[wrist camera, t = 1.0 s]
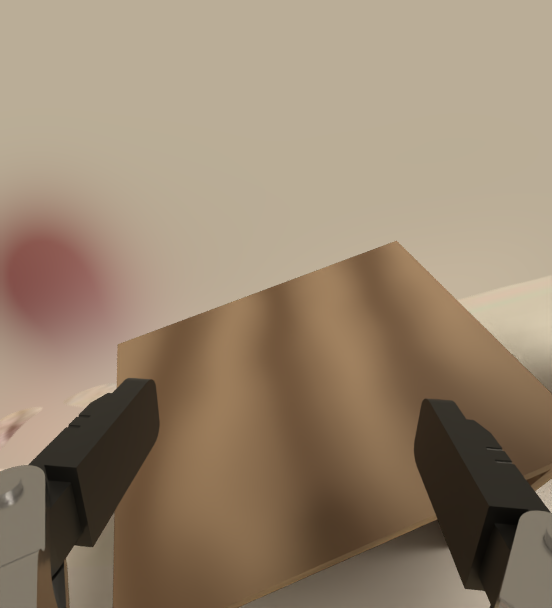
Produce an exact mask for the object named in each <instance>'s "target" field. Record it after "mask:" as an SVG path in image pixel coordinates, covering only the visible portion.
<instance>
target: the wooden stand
mask: <svg viewBox="0 0 552 608" xmlns="http://www.w3.org/2000/svg"><path fill="white" fill-rule="evenodd" d="M117 353H118V354H117V357H118V358H117V388H118V387H119V386H120V384H121V383H122V382H123V381H124V380H125V379H127V378H140V379H152V380H154V381H155V384H156V391H157V400H158V410H159V420H160V427H159V433H158V437H157V440H156V442H155V444H154V446H153V447H152V449H151V451H150V453H149V454H148V456H147V458H146V459H145V461H144V463H143V464H142V466H141V468H140V469H139V471H138V473H137V474H136V476H135V478H134V479H133V481H132V483H131V484H130V486H129V488H128V489H127V491H126V493H125V494H124V496H123V498H122V499H121V501H120V503H119V504H118V506H117V508H116V509H115V517H114V571H113V608H238V607H240V606H242V605H244V604H247V603H249V602H251V601H254V600H256V599H258V598H260V597H263V596H265V595H267V594H269V593H272V592H274V591H276V590H278V589H281V588H283V587H285V586H288V585H290V584H292V583H294V582H297V581H299V580H301V579H303V578H306V577H308V576H310V575H312V574H315V573H317V572H319V571H321V570H324V569H326V568H328V567H331V566H333V565H335V564H337V563H340V562H342V561H344V560H346V559H349V558H351V557H353V556H355V555H358V554H360V553H362V552H364V551H367V550H369V549H371V548H374V547H376V546H378V545H380V544H383V543H385V542H387V541H389V540H392V539H394V538H396V537H398V536H401V535H403V534H405V533H408V532H410V531H412V530H414V529H417V528H419V527H421V526H423V525H426V524H428V523H430V522H432V521H435V520H437V517H436V514H435V512H434V509H433V506H432V504H431V501H430V499H429V496H428V494H427V491H426V489H425V486H424V484H423V481H422V478H421V476H420V473H419V471H418V468H417V466H416V462H415V457H414V440H415V435H416V430H417V424H418V419H419V414H420V408H421V404H422V401H423V400H424V399H441V400H452V401H454V402H455V403H456V405H457V406H458V408H459V409H460V410H461V412H462V413H463V415H464V416H465V418H466V419H469V420H475V421H476V422H477V423H479V424H480V425H481V426H483V427H484V428H485V429H486V430H488V431H489V432H490V433H491V434H492V435H493V436H494V438H495V439H496V440H497V442H498V443H499V444H500V446H501V447H502V450H503V451H505V452H506V454H507V455H508V456H509V458H510V459H511V460H512V464H515V466H516V467H517V468H518V470H519V471H520V472H521V474H522V475H523V476H524V478H525V479H526V480H527V482H528V483H529V484H530V486H531V487H532V488H533V490H534V491H536V490H537V489H539V488H540V487H541V486H542V485H544V484H545V483H546V482H548V481H549V480H550V479H552V393H551V392H550V391H549V390H548V389H547V388H546V387H544V386H543V385H542V384H541V383H540V382H539V381H538V380H537V379H536V378H535V377H534V376H533V375H532V374H531V373H530V372H529V371H528V370H527V369H526V368H525V367H524V366H523V365H522V364H521V363H520V362H519V361H518V360H517V359H516V358H515V357H514V356H513V355H512V354H511V353H510V352H509V351H508V350H507V349H506V348H505V347H504V346H503V345H502V344H501V343H500V342H499V341H498V340H497V339H496V338H495V337H494V336H493V335H492V334H491V333H490V332H489V331H488V330H487V329H486V328H485V327H484V326H483V325H482V324H481V323H480V322H479V321H478V320H476V319H475V318H474V317H473V316H472V315H471V314H470V313H469V312H468V311H467V310H466V309H465V308H464V307H463V306H462V305H461V304H460V303H459V302H458V301H457V300H456V299H455V298H454V297H453V296H452V295H451V294H450V293H449V292H448V291H447V290H446V289H445V288H444V287H443V286H442V285H441V284H440V283H439V282H438V281H437V280H436V279H435V278H434V277H433V276H432V275H431V274H430V273H429V272H428V271H427V270H426V269H425V268H424V267H423V266H421V264H420V263H418V261H417V260H415V259H414V257H413V256H412V255H411V254H409V253H408V252H407V251H406V250H405V249H404V248H403V247H402V246H401V245H400V244H399V243H398V242H397V241H395V242H392V243H389V244H387V245H384V246H381V247H378V248H376V249H373V250H370V251H368V252H365V253H362V254H360V255H357V256H354V257H352V258H349V259H346V260H344V261H341V262H338V263H335V264H333V265H330V266H328V267H325V268H322V269H320V270H317V271H314V272H312V273H309V274H306V275H303V276H301V277H298V278H295V279H293V280H290V281H287V282H285V283H282V284H279V285H276V286H274V287H271V288H268V289H266V290H263V291H260V292H258V293H255V294H252V295H249V296H247V297H244V298H242V299H239V300H236V301H233V302H231V303H228V304H225V305H223V306H220V307H217V308H215V309H212V310H209V311H207V312H204V313H201V314H198V315H196V316H193V317H190V318H188V319H185V320H182V321H180V322H177V323H174V324H172V325H169V326H166V327H164V328H161V329H158V330H156V331H153V332H150V333H147V334H145V335H142V336H139V337H137V338H134V339H131V340H129V341H126V342H123V343H121V344H118V352H117Z"/></svg>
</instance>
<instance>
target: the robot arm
mask: <svg viewBox="0 0 552 608" xmlns="http://www.w3.org/2000/svg"><path fill="white" fill-rule="evenodd" d="M159 427H160V420H159V410H158V400H157V391H156V384H155V381H154V380H152V379H140V378H127V379H125V380H124V381H123V382H122V383H121V384H120V386H119V387H118V388H117V389H116V390H115V391H114V392H113V393H107V394H105V395H104V396H102V397H100V398H98V399H97V400H95V401H93V402H91V403H90V404H89V405H88V406H87V407H86V408H85V409H84V410H83V411H82V412H81V413H80V414H79V417H76V418H75V419H74V420H73V421H72V422H71V423H70V424H69V427H68V428H67V427H66V428H65V429H64V430H63V431H62V432H61V433H60V434H59V435H58V436H57V437H56V438H55V439H54V440H53V441H52V442H51V443H50V444H49V445H48V446H47V447H46V448H45V449H44V450H43V451H42V452H41V453H40V454H39V455H38V456H37V457H36V458H35V459H34V460H33V461H32V462H31V463H30V464H29V465H23V466H17V467H12V468H9V469H6V470H3V471H1V472H0V608H70V606H69V588H68V570H67V562H66V557H67V556H68V554H69V552H70V551H71V549H72V548H73V546H74V545H77V546H86V547H93V546H94V545H95V543H96V541H97V540H98V538H99V536H100V535H101V533H102V531H103V530H104V528H105V526H106V524H107V523H108V521H109V519H110V518H111V516H112V514H113V513H114V511H115V509H116V508H117V506H118V504H119V503H120V501H121V499H122V498H123V496H124V494H125V493H126V491H127V489H128V488H129V486H130V484H131V483H132V481H133V479H134V478H135V476H136V474H137V473H138V471H139V469H140V468H141V466H142V464H143V463H144V461H145V459H146V458H147V456H148V454H149V453H150V451H151V449H152V447H153V446H154V444H155V442H156V440H157V437H158V433H159ZM414 457H415V462H416V466H417V468H418V471H419V473H420V476H421V478H422V481H423V484H424V486H425V489H426V491H427V494H428V496H429V499H430V501H431V504H432V506H433V509H434V512H435V514H436V517H437V519H438V522H439V524H440V527H441V529H442V532H443V534H444V537H445V540H446V542H447V545H448V547H449V550H450V552H451V555H452V557H453V560H454V562H455V565H456V568H457V570H458V573H459V575H460V578H461V580H462V583H463V585H464V588H465V589H472V590H482V591H485V592H486V594H487V597H488V599H489V601H490V604H491V605H490V608H552V513H551V512H550V511H549V510H548V508H547V507H546V506H545V504H544V503H543V502H542V500H541V499H540V498H539V496H538V495H537V494H536V492H535V491H534V490H533V488H532V487H531V486H530V484H529V483H528V482H527V480H526V479H525V478H524V476H523V475H522V474H521V472H520V471H519V470H518V468H517V467H516V466H515V464H512V460H511V459H510V458H509V456H508V455H507V454H506V452H505V451H503V450H502V447H501V446H500V444H499V443H498V442H497V440H496V439H495V438H494V436H493V435H492V434H491V433H490V432H489V431H488V430H486V429H485V428H484V427H483V426H481V425H480V424H479V423H477V422H476V421H475V420H469V419H466V418H465V416H464V415H463V413H462V412H461V410H460V409H459V408H458V406H457V405H456V403H455V402H454V401H452V400H441V399H424V400H423V401H422V404H421V408H420V414H419V419H418V424H417V430H416V435H415V440H414Z"/></svg>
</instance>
